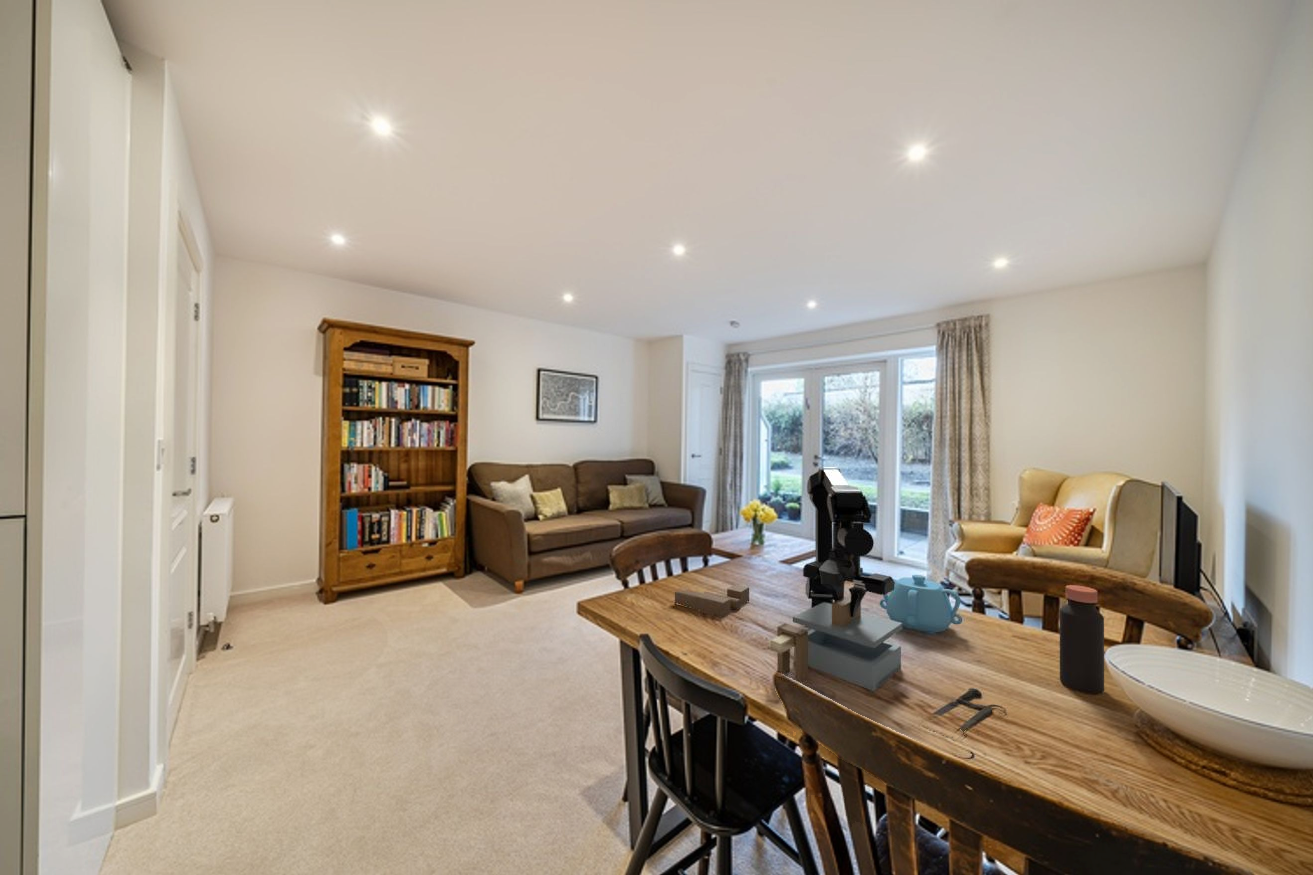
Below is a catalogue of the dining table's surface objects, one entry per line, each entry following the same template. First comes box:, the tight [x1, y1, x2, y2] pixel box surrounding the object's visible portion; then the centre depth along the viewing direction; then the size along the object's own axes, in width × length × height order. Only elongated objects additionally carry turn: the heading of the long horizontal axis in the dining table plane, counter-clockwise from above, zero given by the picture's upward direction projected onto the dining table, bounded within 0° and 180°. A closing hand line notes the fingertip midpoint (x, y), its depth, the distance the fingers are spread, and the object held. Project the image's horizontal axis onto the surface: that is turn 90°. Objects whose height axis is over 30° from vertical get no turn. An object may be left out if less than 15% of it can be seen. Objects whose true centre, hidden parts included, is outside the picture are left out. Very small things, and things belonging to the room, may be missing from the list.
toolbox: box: [776, 623, 902, 692], centre depth 105 cm, size 21×18×10 cm
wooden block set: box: [674, 584, 750, 618], centre depth 147 cm, size 17×6×18 cm
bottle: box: [1059, 584, 1105, 695], centre depth 97 cm, size 7×7×20 cm
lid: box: [792, 593, 903, 648], centre depth 107 cm, size 14×18×7 cm
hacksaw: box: [918, 687, 1007, 760], centre depth 85 cm, size 24×10×2 cm, turn 122°
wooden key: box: [770, 633, 795, 654], centre depth 102 cm, size 10×2×2 cm, turn 133°
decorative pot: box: [879, 574, 963, 635], centre depth 129 cm, size 16×16×14 cm
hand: (846, 614), depth 107 cm, fingers closed on lid, 2 cm apart
